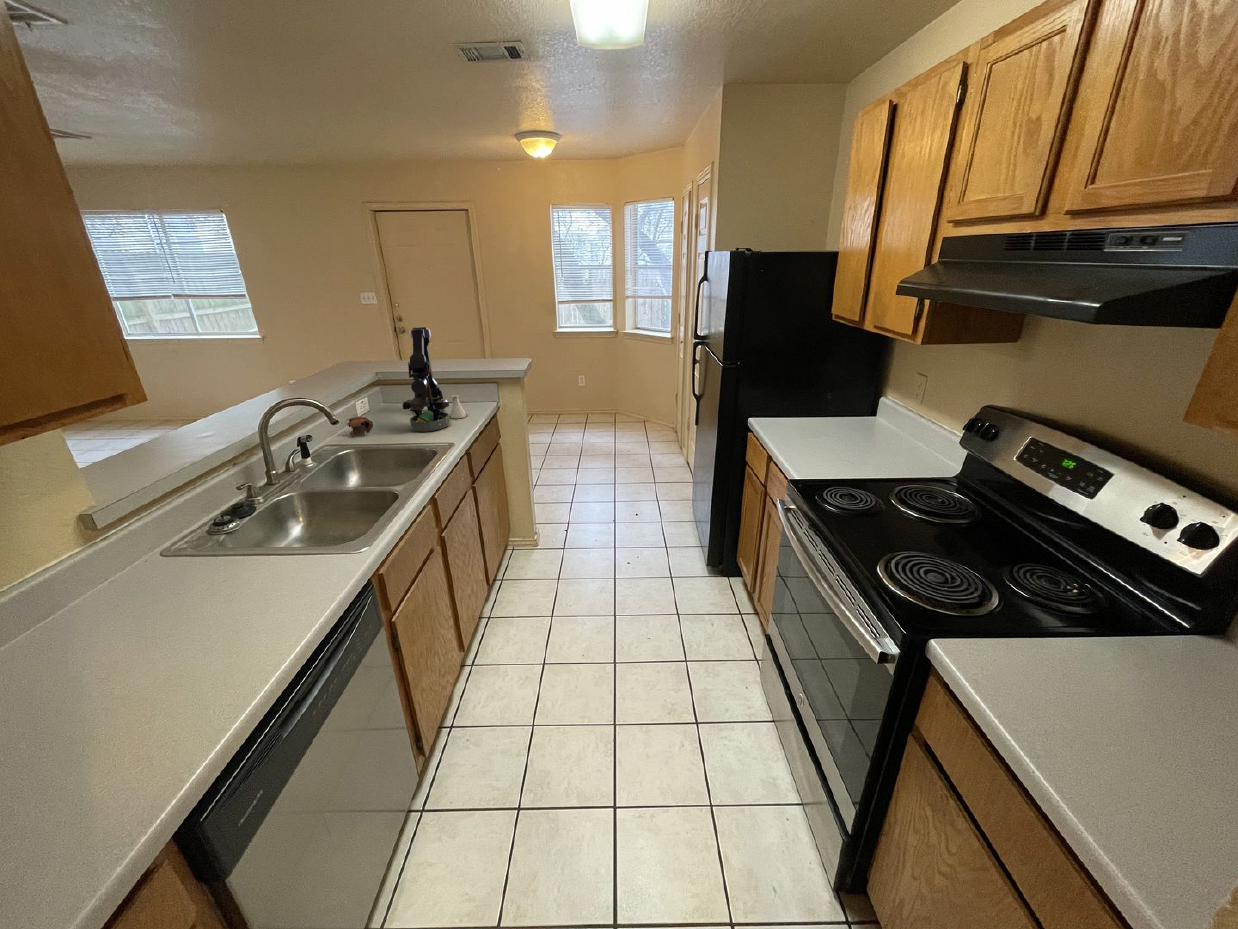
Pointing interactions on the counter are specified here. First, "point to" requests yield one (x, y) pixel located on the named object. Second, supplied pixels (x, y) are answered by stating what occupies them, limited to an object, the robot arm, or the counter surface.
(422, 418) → the sponge
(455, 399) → the flask
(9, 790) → the counter surface
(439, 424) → the bowl
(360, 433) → the pottery mug
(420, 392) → the robot arm
